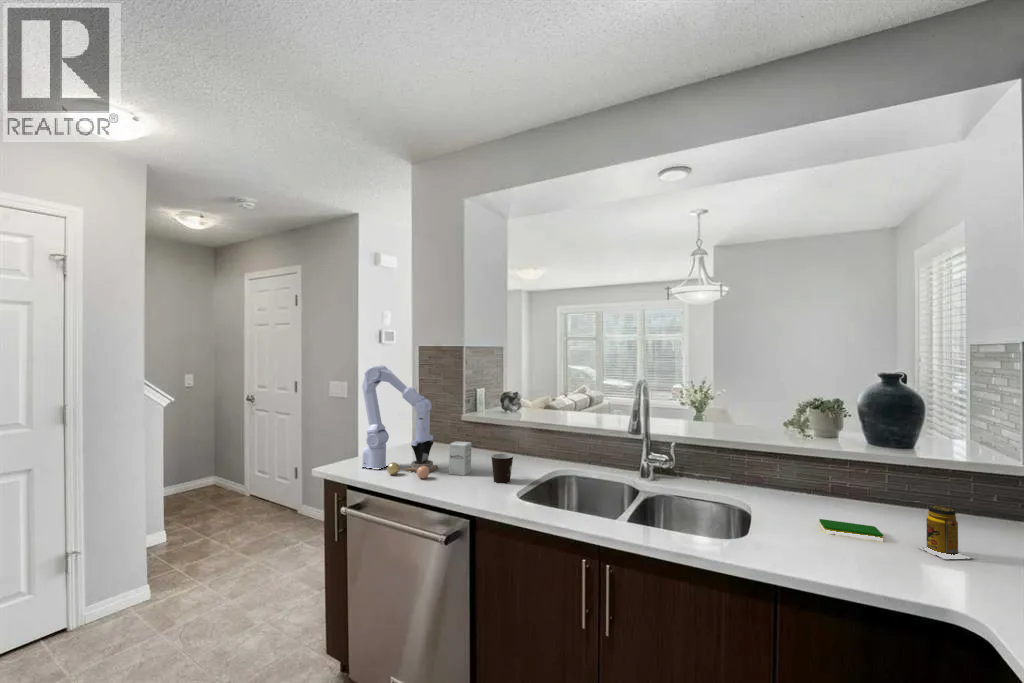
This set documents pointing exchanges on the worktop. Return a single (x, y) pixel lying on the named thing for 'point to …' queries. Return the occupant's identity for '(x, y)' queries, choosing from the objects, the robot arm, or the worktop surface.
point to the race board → (416, 465)
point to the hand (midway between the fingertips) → (422, 459)
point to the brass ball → (393, 468)
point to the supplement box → (460, 458)
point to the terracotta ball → (422, 472)
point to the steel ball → (424, 458)
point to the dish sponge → (850, 528)
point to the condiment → (942, 530)
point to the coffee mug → (502, 467)
